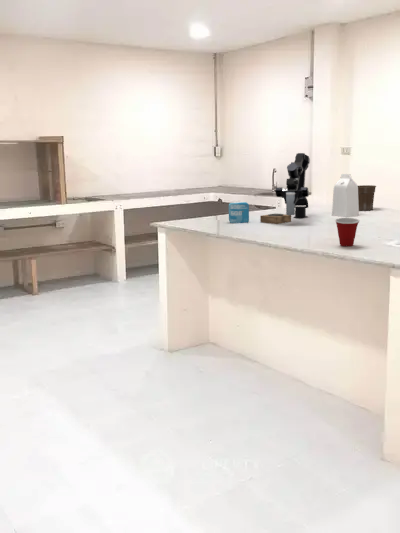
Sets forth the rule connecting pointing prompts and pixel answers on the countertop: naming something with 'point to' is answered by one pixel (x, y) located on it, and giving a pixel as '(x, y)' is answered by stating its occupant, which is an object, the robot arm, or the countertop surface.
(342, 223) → the plastic cup
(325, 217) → the countertop surface
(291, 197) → the grey bottle
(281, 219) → the stand
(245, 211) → the data package
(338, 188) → the milk
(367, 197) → the plant pot
